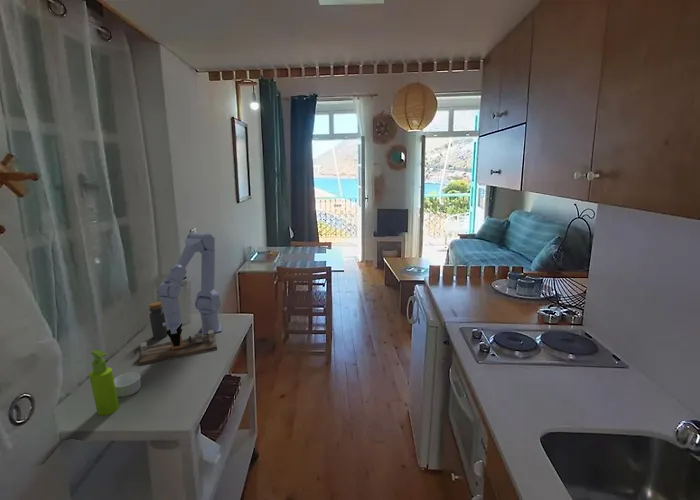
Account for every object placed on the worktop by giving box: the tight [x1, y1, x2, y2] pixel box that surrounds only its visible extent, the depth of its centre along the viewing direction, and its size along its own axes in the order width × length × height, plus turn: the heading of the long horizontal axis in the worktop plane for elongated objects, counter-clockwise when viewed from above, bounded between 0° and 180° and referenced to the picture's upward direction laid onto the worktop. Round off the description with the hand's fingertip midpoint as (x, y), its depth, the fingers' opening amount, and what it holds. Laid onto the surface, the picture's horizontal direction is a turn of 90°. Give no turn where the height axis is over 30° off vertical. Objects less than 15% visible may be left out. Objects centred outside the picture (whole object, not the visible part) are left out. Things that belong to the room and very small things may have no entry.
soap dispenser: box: [89, 349, 120, 417], centre depth 124 cm, size 6×7×20 cm
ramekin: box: [114, 371, 142, 398], centre depth 136 cm, size 9×9×4 cm
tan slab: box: [138, 330, 218, 366], centre depth 163 cm, size 13×28×5 cm, turn 112°
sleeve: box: [169, 333, 183, 349], centre depth 163 cm, size 4×4×5 cm
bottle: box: [149, 301, 168, 340], centre depth 176 cm, size 6×6×15 cm
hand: (177, 343), depth 163 cm, fingers closed on sleeve, 4 cm apart
